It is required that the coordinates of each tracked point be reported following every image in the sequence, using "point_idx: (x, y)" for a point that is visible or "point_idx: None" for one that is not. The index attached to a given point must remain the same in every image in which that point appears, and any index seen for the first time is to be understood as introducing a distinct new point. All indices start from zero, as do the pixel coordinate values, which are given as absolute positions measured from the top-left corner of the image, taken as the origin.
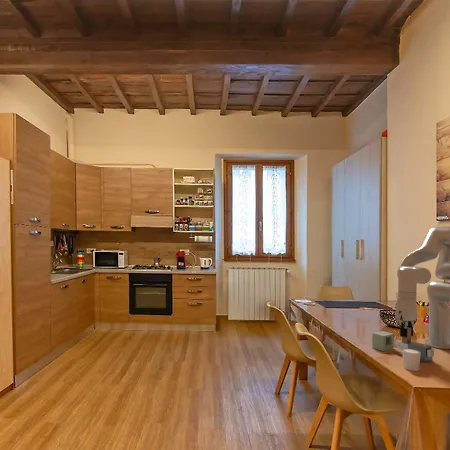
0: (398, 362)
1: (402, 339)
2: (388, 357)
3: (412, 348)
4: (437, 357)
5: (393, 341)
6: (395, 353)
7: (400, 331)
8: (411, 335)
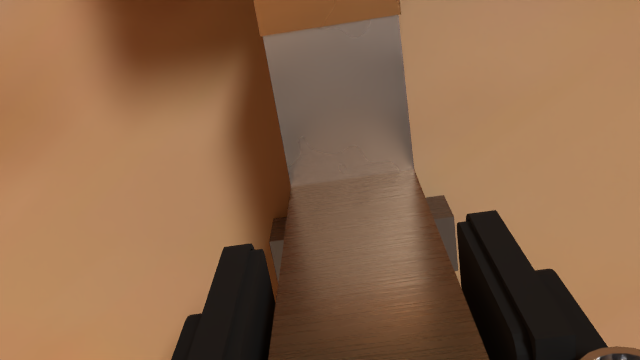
0: (38, 300)
1: (290, 220)
2: (41, 134)
3: None
4: (631, 328)
5: (258, 8)
6: None
7: (211, 308)
8: None
